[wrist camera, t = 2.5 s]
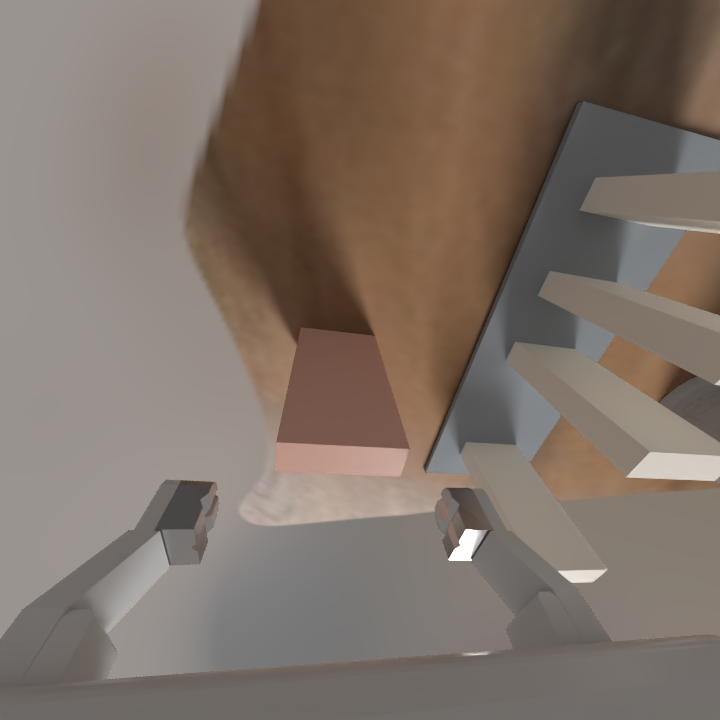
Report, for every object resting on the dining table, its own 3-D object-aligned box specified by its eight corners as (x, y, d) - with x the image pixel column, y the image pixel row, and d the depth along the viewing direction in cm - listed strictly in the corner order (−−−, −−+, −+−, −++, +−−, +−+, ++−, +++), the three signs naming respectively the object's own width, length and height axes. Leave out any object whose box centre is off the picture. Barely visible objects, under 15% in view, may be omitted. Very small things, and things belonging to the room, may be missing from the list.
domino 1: (300, 327, 19) (276, 442, 10) (374, 335, 20) (409, 449, 11) (299, 348, 19) (275, 471, 11) (370, 355, 20) (400, 476, 12)
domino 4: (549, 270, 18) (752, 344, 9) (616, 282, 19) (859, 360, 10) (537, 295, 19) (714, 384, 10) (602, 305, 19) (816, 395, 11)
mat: (577, 103, 14) (583, 101, 14) (733, 148, 16) (743, 147, 15) (424, 469, 27) (425, 472, 27) (517, 473, 29) (519, 476, 29)
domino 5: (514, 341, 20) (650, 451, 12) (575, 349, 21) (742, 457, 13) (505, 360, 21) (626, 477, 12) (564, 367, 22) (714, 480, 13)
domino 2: (466, 441, 25) (535, 571, 17) (516, 444, 26) (607, 569, 17) (459, 454, 26) (523, 584, 17) (508, 456, 27) (592, 581, 18)
